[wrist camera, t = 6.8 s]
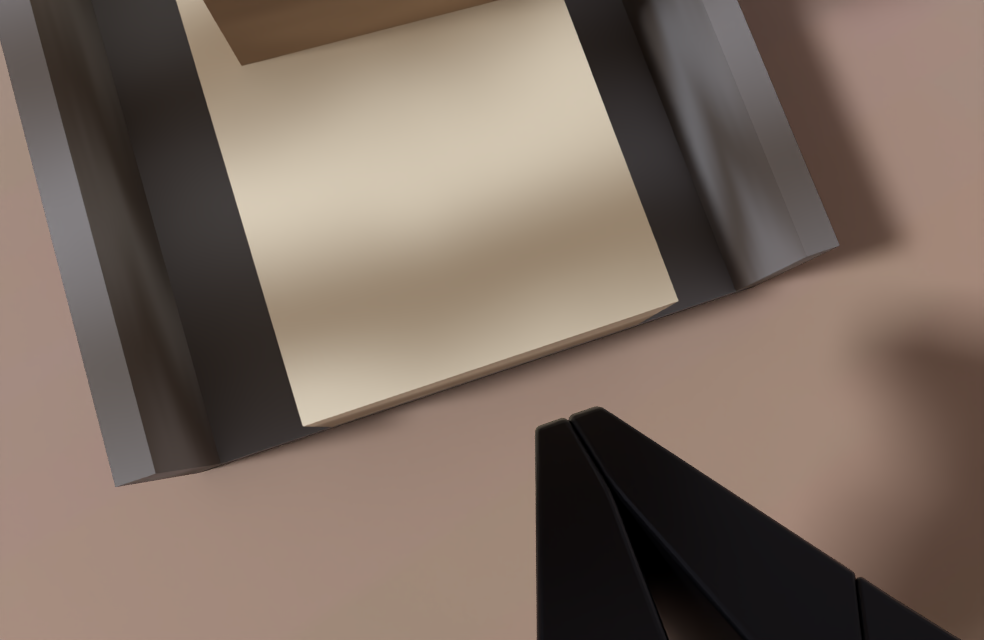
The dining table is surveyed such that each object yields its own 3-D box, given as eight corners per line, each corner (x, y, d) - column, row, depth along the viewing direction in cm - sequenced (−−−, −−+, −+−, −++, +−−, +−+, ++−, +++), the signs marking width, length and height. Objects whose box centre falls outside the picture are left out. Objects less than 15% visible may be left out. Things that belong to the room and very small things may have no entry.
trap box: (753, 286, 20) (932, 201, 12) (198, 472, 18) (21, 502, 11) (544, -240, 22) (589, -576, 15) (37, -116, 20) (-200, -424, 13)
